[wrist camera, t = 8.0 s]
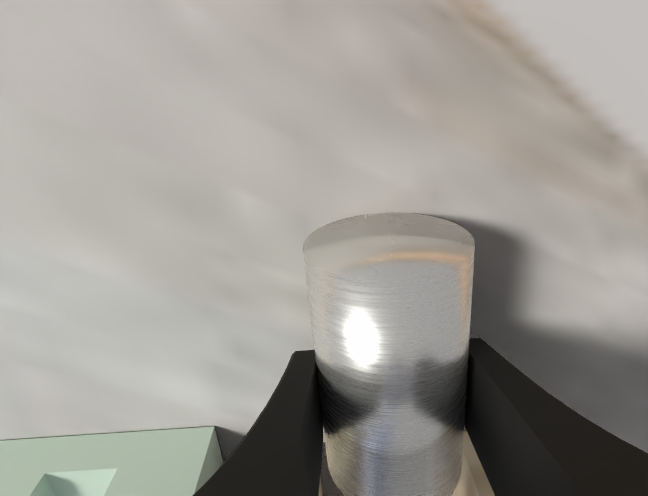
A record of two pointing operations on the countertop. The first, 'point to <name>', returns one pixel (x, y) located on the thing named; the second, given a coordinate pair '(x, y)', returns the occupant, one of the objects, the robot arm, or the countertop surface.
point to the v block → (111, 464)
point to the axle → (392, 350)
